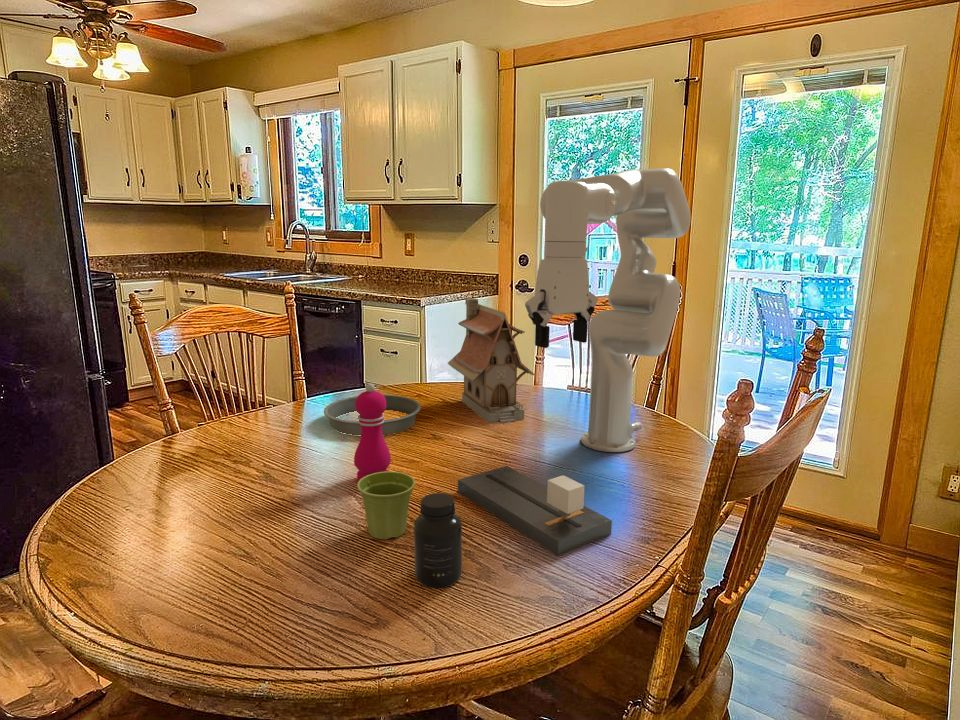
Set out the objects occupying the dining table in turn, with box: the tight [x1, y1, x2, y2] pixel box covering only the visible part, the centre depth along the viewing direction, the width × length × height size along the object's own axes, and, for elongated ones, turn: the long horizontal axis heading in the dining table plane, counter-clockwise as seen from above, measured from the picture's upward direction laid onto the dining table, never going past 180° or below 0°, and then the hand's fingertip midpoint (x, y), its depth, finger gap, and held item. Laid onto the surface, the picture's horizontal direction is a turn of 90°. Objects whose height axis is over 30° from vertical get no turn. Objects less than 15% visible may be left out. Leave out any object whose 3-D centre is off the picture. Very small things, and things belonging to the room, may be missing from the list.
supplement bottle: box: [413, 492, 463, 589], centre depth 86 cm, size 7×7×12 cm
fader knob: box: [547, 475, 585, 517], centre depth 99 cm, size 5×4×6 cm
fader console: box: [457, 465, 613, 557], centre depth 107 cm, size 28×12×3 cm, turn 36°
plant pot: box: [356, 470, 416, 540], centre depth 99 cm, size 9×9×9 cm
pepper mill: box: [353, 382, 392, 483], centre depth 117 cm, size 7×7×20 cm
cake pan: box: [323, 394, 422, 436], centre depth 154 cm, size 25×25×4 cm
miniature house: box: [447, 297, 535, 425], centre depth 163 cm, size 18×24×30 cm
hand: (561, 344), depth 112 cm, fingers open, 9 cm apart
